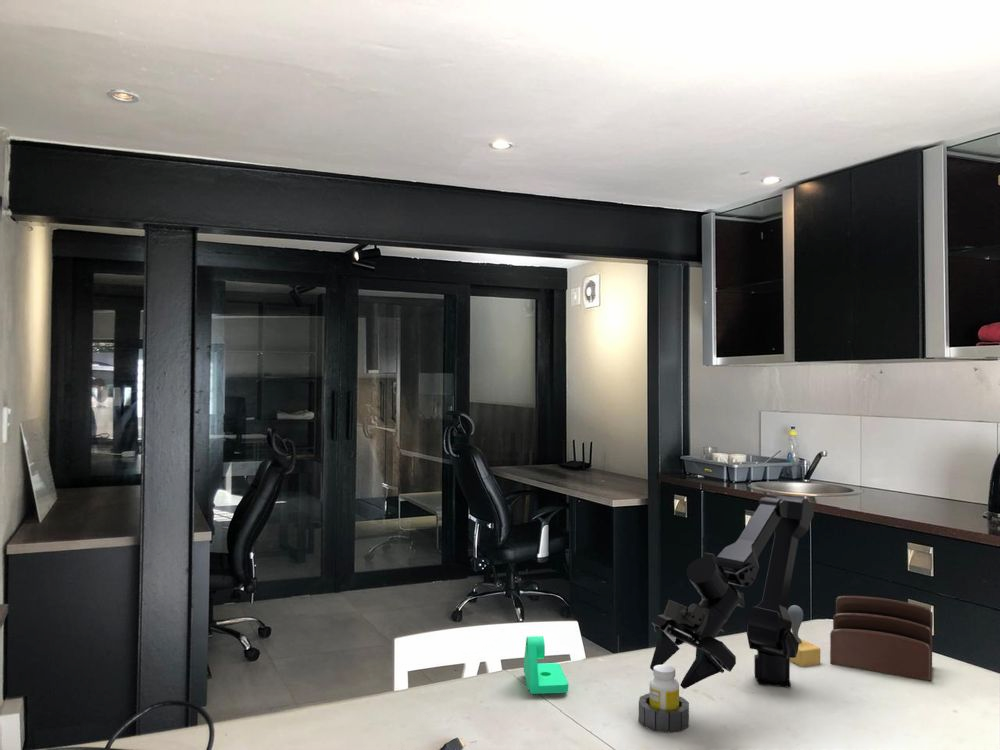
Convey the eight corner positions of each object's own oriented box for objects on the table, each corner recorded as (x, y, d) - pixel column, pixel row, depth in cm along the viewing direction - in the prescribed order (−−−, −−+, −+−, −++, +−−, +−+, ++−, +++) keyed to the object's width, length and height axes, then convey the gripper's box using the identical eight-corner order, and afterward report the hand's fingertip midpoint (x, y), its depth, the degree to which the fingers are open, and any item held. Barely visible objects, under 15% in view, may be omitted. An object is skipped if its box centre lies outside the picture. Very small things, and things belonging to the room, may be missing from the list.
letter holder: (835, 651, 182) (835, 591, 182) (932, 667, 172) (932, 603, 172) (829, 664, 174) (829, 601, 174) (931, 682, 164) (931, 615, 164)
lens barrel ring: (689, 714, 147) (689, 695, 147) (688, 735, 139) (688, 715, 139) (641, 708, 150) (641, 690, 150) (636, 728, 141) (637, 709, 141)
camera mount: (569, 697, 155) (569, 646, 155) (531, 699, 154) (531, 647, 154) (558, 675, 167) (559, 627, 167) (523, 676, 166) (523, 627, 166)
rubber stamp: (770, 652, 181) (770, 600, 181) (790, 649, 183) (791, 598, 183) (800, 667, 172) (800, 612, 172) (821, 664, 174) (821, 610, 174)
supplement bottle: (680, 717, 146) (681, 665, 146) (677, 729, 141) (677, 675, 141) (651, 713, 148) (652, 661, 148) (647, 725, 143) (647, 671, 143)
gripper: (659, 573, 155) (612, 636, 151) (723, 597, 138) (672, 669, 134) (691, 607, 159) (646, 670, 154) (757, 635, 142) (709, 707, 137)
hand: (666, 678), depth 145 cm, fingers open, 9 cm apart
